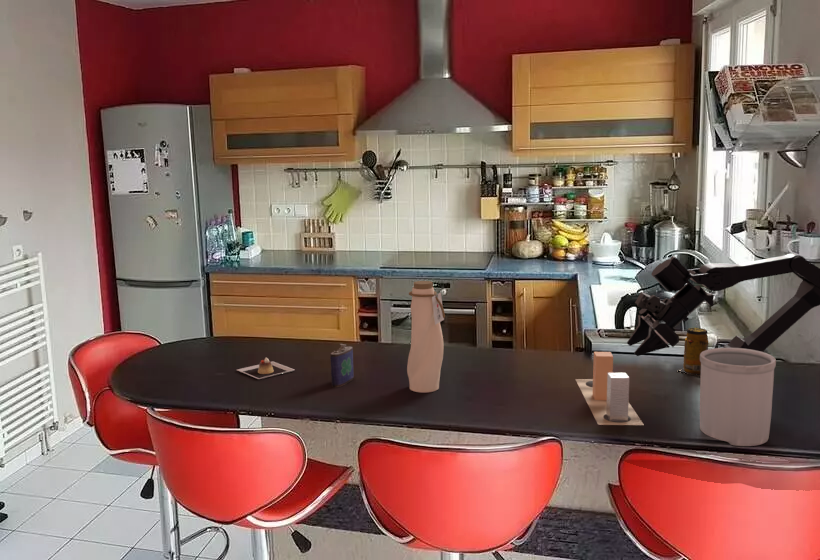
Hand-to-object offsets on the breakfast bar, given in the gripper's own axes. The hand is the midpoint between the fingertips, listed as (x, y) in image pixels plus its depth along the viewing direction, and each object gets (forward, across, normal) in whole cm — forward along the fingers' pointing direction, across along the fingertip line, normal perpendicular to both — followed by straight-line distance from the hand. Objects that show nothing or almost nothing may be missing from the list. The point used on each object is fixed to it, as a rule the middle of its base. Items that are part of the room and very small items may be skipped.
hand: (631, 349), depth 180 cm
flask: (+61, -11, -42) cm, 75 cm away
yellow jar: (-7, -25, +25) cm, 36 cm away
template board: (+13, +2, +5) cm, 14 cm away
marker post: (+13, 0, +4) cm, 14 cm away
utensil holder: (-3, +20, +22) cm, 30 cm away
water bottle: (+45, -7, -26) cm, 53 cm away
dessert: (+79, -19, -59) cm, 100 cm away
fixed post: (+12, +14, +5) cm, 19 cm away
